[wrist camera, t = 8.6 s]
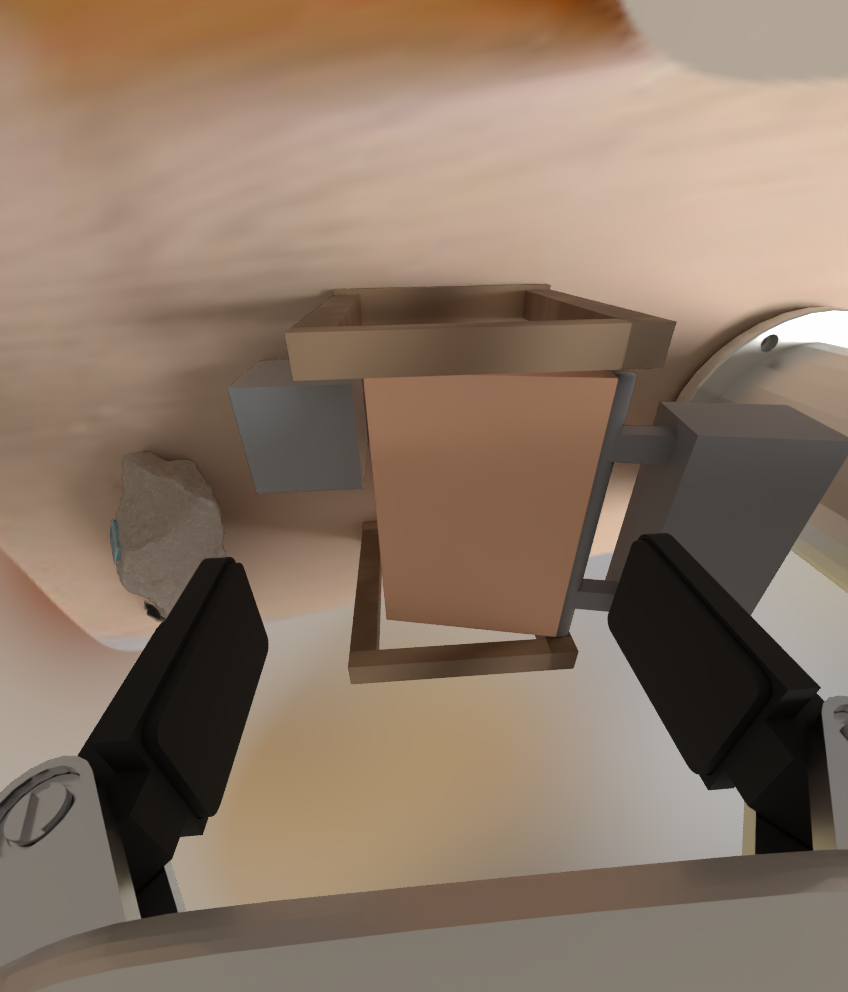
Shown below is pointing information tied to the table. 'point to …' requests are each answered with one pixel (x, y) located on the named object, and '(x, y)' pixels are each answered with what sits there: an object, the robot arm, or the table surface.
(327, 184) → the table surface
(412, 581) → the trapdoor
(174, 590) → the concrete fragment
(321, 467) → the slate block
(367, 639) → the frame
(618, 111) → the table surface
